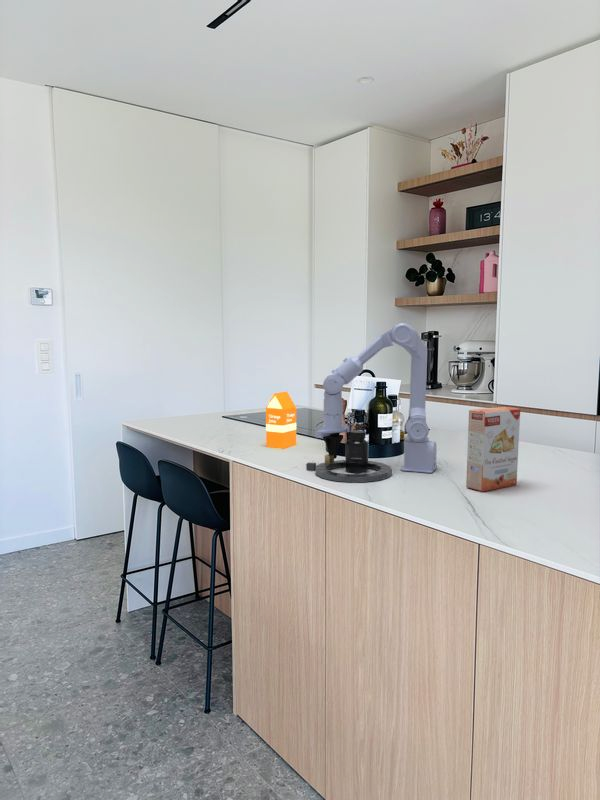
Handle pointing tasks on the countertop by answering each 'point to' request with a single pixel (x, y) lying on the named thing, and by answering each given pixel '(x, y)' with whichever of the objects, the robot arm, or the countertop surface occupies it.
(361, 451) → the supplement bottle
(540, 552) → the countertop surface
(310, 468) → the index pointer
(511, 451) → the cracker box
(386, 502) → the countertop surface
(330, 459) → the ring
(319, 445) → the countertop surface
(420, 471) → the robot arm
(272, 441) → the orange juice
